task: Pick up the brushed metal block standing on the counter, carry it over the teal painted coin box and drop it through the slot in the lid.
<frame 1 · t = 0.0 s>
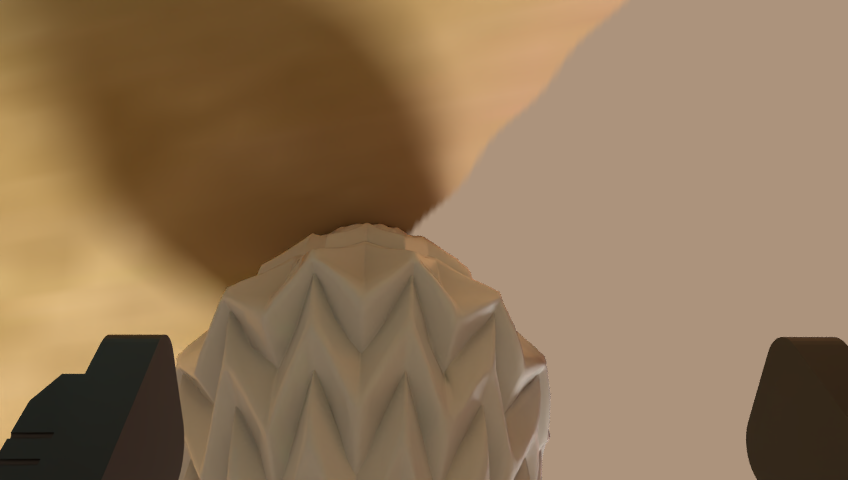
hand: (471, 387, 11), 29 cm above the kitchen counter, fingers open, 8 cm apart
vase: (366, 289, 45), on the kitchen counter
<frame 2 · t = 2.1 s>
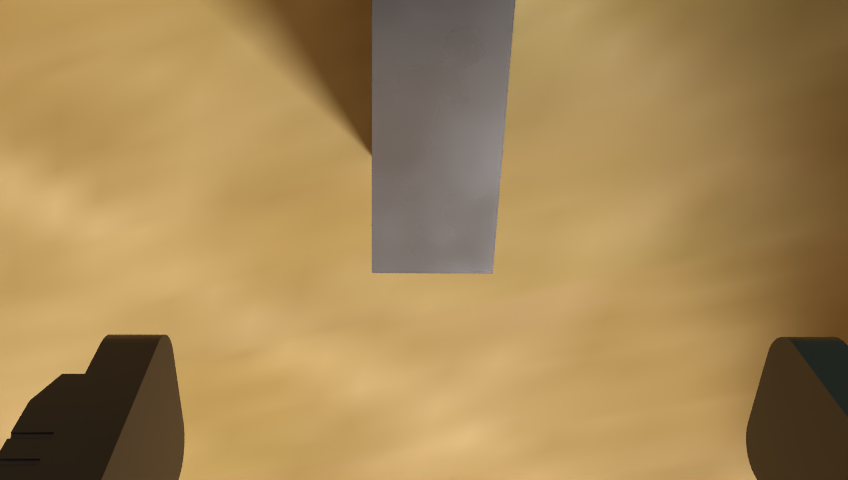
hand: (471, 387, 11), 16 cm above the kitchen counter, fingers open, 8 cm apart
brushed metal block: (425, 54, 25), on the kitchen counter
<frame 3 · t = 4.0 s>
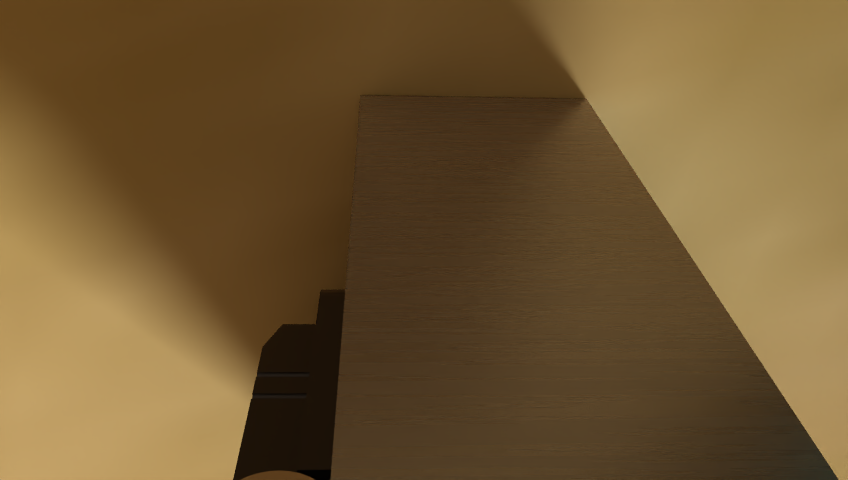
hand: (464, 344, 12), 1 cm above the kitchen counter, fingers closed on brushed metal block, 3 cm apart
brushed metal block: (460, 317, 12), on the kitchen counter, touching gripper
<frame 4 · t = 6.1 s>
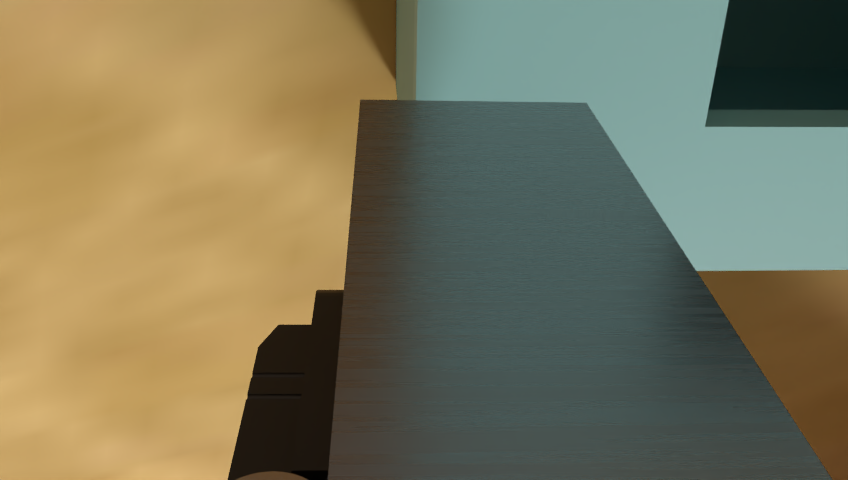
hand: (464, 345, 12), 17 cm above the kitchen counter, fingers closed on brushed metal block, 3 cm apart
brushed metal block: (461, 321, 12), point 16 cm above the kitchen counter, touching gripper
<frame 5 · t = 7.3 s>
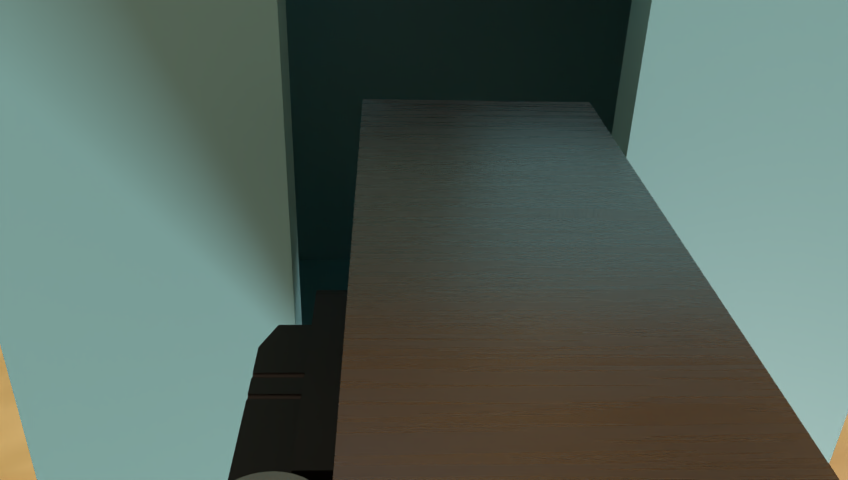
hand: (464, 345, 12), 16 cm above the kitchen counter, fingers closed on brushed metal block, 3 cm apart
brushed metal block: (463, 321, 12), point 15 cm above the kitchen counter, touching gripper
coin box: (423, 48, 25), on the kitchen counter
when the fingers open (14 cm above the kitchen counter, at t = 8.2 s): brushed metal block drops 12 cm and tips over, resting on coin box.
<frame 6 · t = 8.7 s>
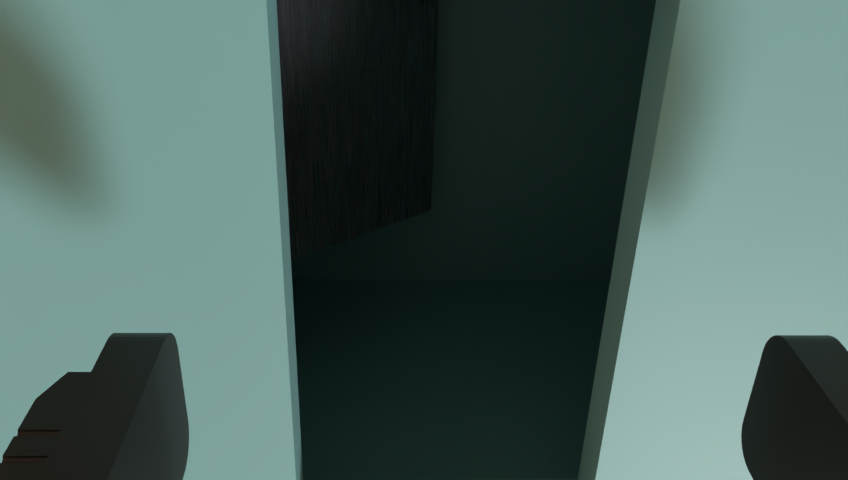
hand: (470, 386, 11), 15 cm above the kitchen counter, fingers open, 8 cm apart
brushed metal block: (399, 77, 23), point 2 cm above the kitchen counter, tilted 52°, touching coin box
coin box: (424, 61, 24), on the kitchen counter
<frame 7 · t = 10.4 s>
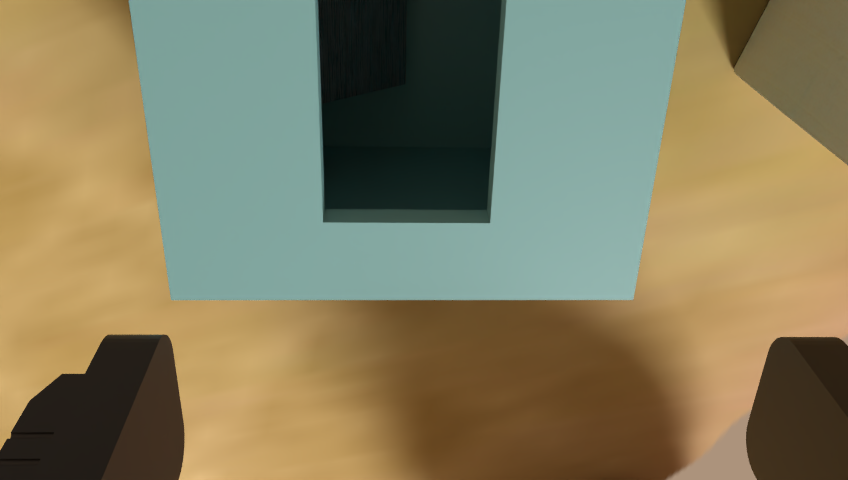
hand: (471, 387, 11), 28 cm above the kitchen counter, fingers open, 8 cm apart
toy refrigerator: (829, 38, 38), on the kitchen counter
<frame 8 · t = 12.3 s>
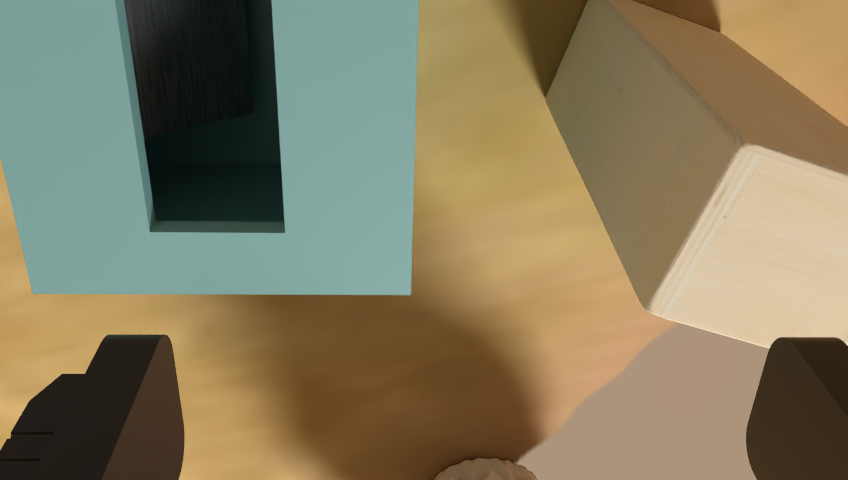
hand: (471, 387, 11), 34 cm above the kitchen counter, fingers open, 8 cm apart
brushed metal block: (232, 37, 41), point 2 cm above the kitchen counter, tilted 52°, touching coin box
toy refrigerator: (626, 72, 45), on the kitchen counter
coin box: (254, 30, 42), on the kitchen counter
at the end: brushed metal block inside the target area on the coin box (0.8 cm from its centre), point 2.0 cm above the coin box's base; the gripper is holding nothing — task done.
